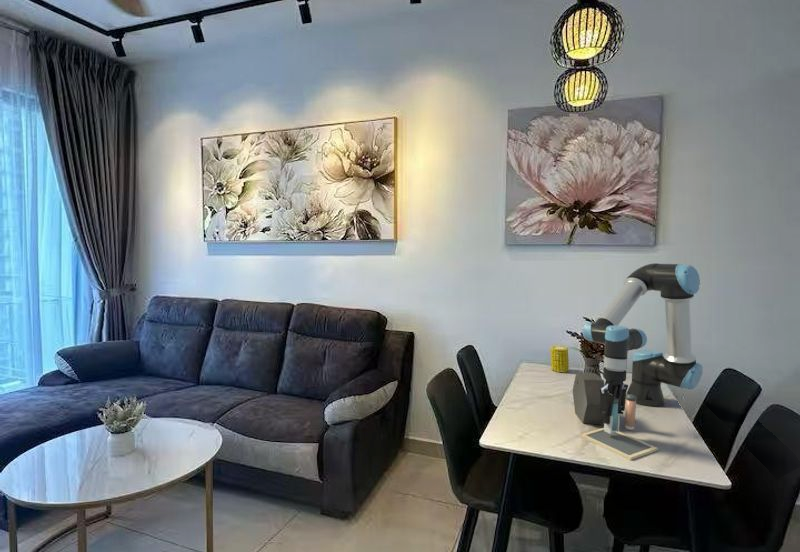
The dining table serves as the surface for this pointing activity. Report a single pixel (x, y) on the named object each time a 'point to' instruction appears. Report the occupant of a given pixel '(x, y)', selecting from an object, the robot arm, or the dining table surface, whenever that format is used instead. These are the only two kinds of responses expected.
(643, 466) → the dining table surface
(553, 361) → the food
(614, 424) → the teal marker
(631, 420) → the coral marker
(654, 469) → the dining table surface
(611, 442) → the slate board
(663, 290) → the robot arm
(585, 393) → the planter
